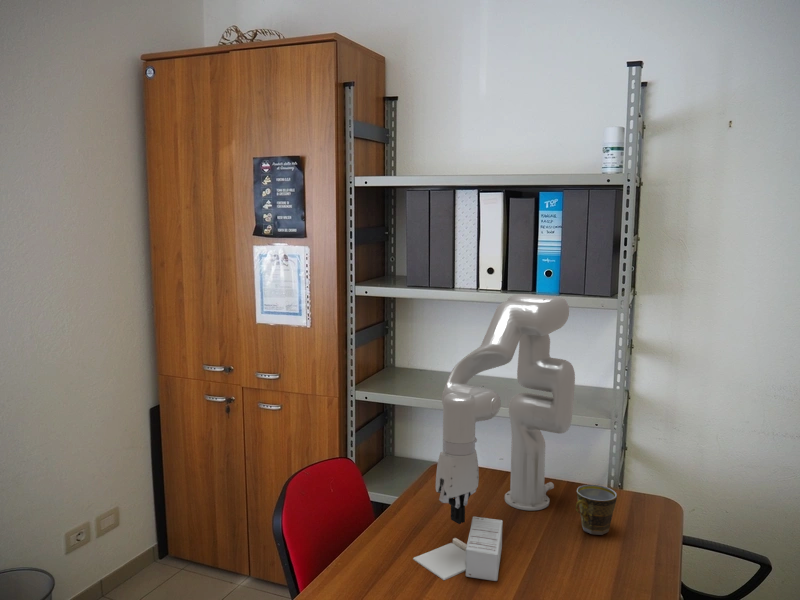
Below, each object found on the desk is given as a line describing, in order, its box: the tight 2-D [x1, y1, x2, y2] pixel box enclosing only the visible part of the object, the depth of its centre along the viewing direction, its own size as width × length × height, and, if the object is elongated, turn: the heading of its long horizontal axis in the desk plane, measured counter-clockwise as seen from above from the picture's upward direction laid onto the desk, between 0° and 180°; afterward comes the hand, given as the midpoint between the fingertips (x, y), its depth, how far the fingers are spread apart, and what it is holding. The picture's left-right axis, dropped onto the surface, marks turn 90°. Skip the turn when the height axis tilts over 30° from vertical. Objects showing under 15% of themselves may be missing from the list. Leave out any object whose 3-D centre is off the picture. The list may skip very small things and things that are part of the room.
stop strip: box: [452, 537, 467, 551], centre depth 151 cm, size 1×11×1 cm, turn 37°
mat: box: [412, 542, 466, 581], centre depth 147 cm, size 12×11×1 cm
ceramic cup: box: [575, 484, 618, 536], centre depth 162 cm, size 13×10×10 cm
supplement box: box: [465, 516, 504, 582], centre depth 144 cm, size 7×7×13 cm
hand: (457, 520), depth 148 cm, fingers closed
